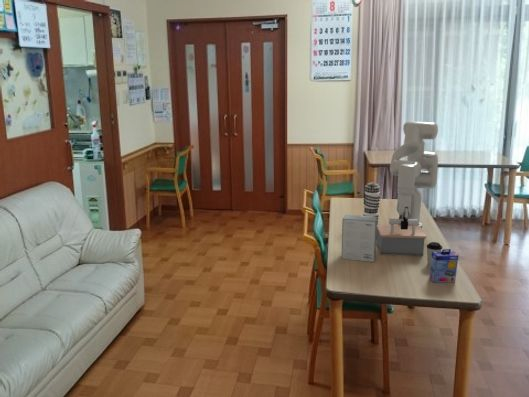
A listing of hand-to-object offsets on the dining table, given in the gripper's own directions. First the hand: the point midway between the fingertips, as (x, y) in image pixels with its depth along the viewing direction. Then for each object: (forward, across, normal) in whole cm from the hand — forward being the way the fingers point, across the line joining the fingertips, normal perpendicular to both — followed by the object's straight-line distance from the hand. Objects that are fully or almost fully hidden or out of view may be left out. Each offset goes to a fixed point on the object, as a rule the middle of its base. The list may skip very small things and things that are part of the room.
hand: (403, 226), depth 242 cm
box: (+14, -6, 0) cm, 15 cm away
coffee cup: (+14, +13, +12) cm, 22 cm away
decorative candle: (+14, -41, -10) cm, 44 cm away
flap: (+4, -5, 0) cm, 7 cm away
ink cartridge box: (+14, +30, +12) cm, 35 cm away
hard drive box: (+14, +7, -21) cm, 26 cm away
